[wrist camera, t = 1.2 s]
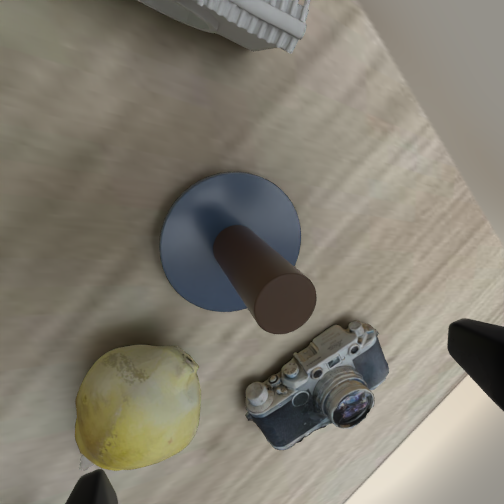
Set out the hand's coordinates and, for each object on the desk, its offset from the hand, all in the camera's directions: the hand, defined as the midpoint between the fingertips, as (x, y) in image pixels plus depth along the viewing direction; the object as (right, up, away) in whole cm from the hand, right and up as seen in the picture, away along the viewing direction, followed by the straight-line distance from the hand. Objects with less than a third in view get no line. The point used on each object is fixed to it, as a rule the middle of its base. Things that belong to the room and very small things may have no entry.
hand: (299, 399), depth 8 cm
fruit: (-8, -4, +12) cm, 15 cm away
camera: (+3, -5, +16) cm, 17 cm away
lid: (-2, +4, +10) cm, 11 cm away
